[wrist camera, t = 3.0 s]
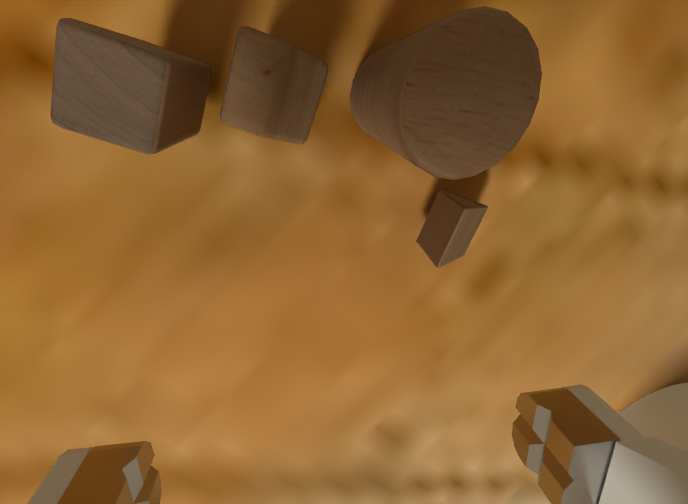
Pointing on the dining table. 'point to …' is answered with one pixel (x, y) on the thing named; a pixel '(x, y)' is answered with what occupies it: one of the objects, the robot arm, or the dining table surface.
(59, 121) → the wooden block set
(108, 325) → the dining table surface
